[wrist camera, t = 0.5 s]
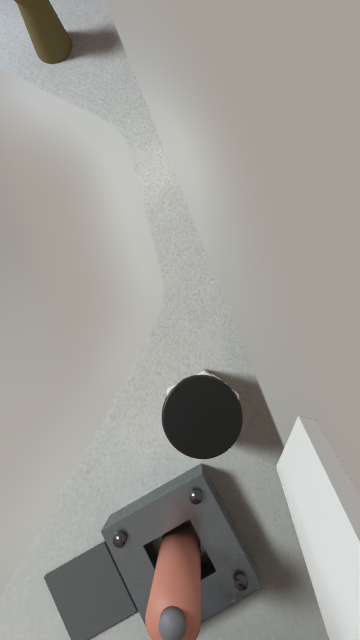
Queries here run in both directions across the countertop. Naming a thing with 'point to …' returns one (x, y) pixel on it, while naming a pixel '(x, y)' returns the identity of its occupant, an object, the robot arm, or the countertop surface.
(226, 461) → the countertop surface
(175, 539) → the orange cylinder
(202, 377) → the jar
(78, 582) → the rubber pad
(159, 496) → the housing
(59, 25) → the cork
